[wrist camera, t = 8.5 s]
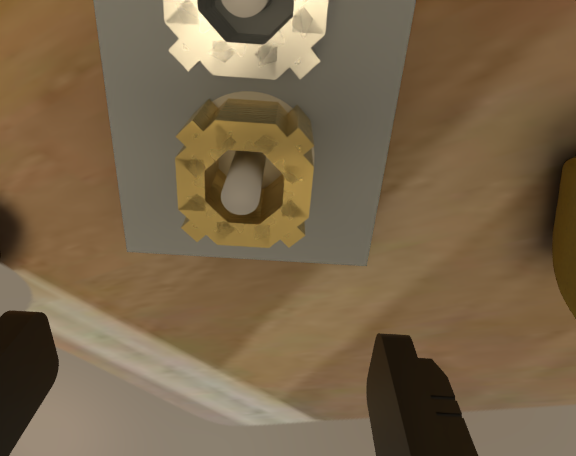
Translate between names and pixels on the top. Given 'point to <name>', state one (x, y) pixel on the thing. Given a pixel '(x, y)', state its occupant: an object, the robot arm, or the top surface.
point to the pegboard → (285, 89)
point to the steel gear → (245, 40)
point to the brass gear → (210, 179)
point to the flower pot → (566, 236)
